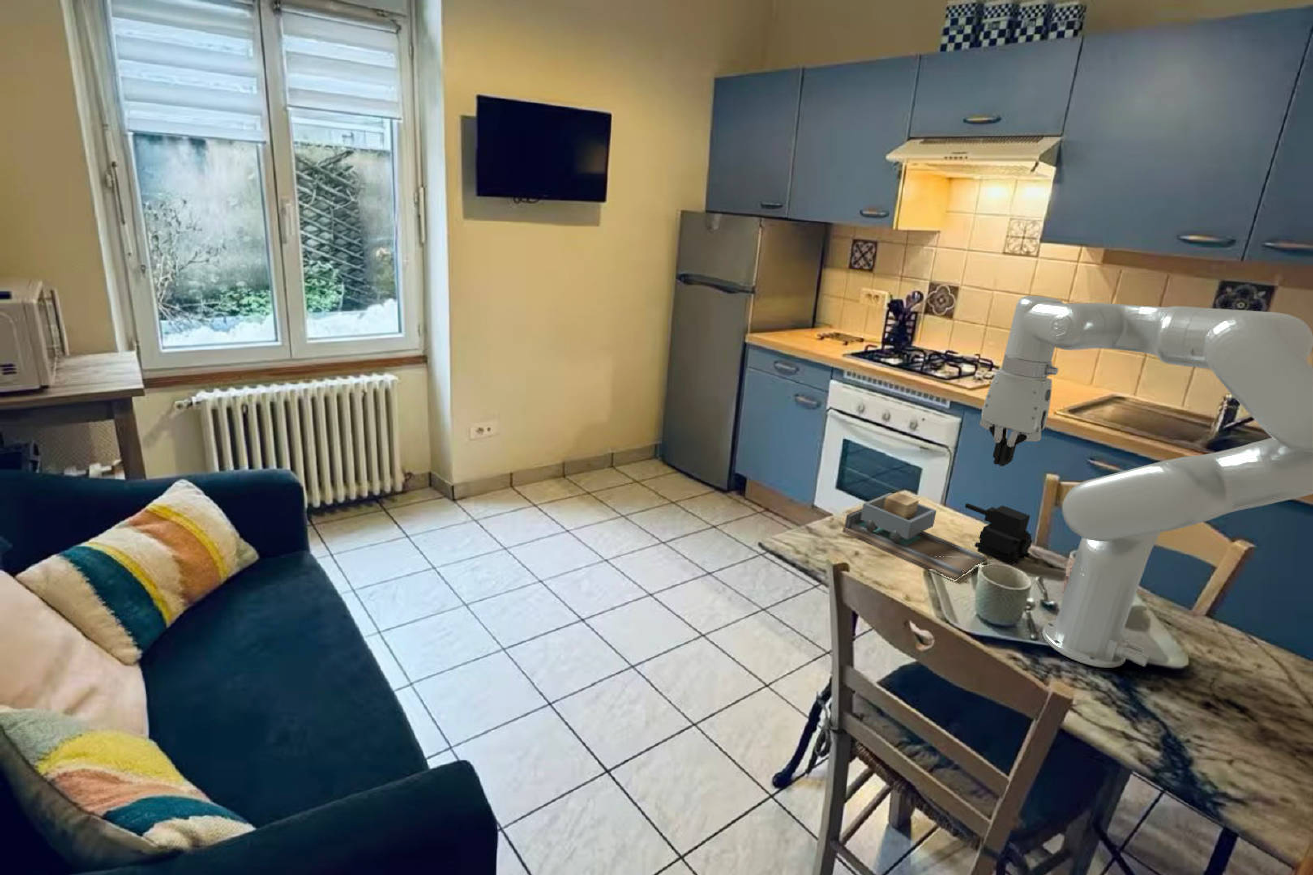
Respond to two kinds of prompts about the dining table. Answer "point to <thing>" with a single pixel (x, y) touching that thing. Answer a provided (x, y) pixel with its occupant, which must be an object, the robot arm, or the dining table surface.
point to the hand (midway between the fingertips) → (1001, 463)
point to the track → (916, 548)
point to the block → (901, 505)
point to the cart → (896, 519)
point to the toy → (1004, 534)
